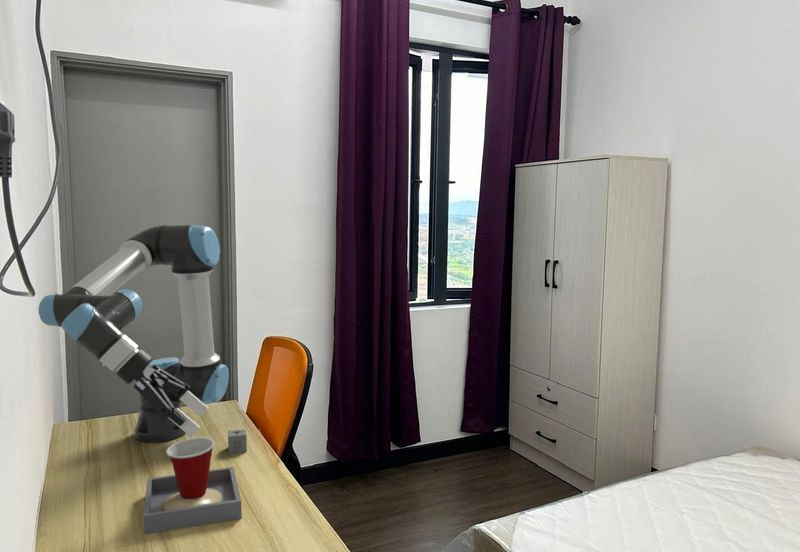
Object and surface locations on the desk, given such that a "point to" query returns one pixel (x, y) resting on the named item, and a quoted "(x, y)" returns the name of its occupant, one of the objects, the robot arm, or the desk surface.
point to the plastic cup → (191, 465)
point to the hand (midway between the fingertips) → (200, 421)
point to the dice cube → (237, 441)
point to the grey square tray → (191, 502)
